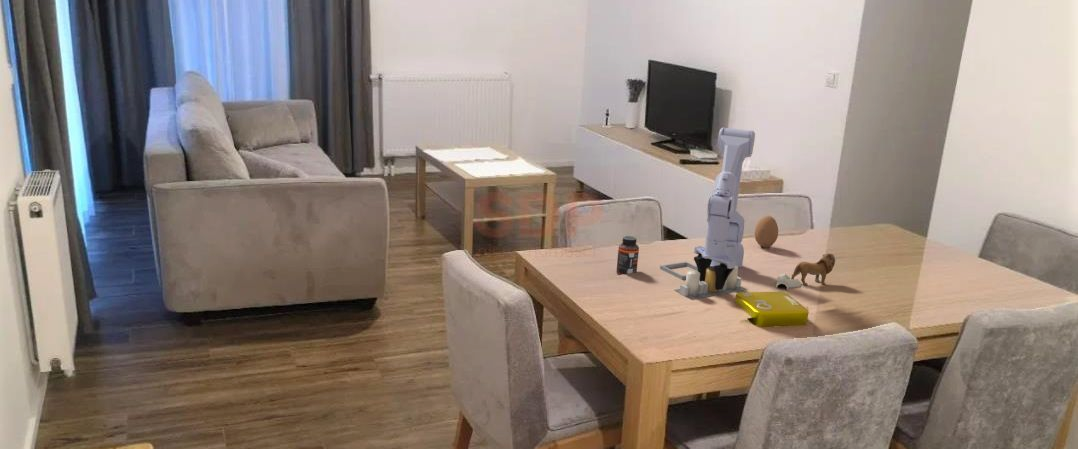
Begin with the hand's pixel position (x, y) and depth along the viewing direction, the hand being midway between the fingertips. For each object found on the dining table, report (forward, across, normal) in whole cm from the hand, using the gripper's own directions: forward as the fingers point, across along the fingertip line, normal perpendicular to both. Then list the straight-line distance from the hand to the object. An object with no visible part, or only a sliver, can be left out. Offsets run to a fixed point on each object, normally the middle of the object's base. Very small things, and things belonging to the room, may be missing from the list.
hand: (711, 285), depth 239 cm
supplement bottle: (+3, -23, -12) cm, 26 cm away
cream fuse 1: (+1, 0, -7) cm, 7 cm away
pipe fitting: (+3, +6, +24) cm, 25 cm away
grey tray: (+3, -15, +3) cm, 16 cm away
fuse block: (+3, 0, 0) cm, 3 cm away
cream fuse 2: (+1, 0, +7) cm, 7 cm away
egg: (+3, -28, +49) cm, 57 cm away
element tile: (+4, +18, +5) cm, 19 cm away
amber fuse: (+1, 0, 0) cm, 1 cm away
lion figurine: (+3, +4, +36) cm, 37 cm away
